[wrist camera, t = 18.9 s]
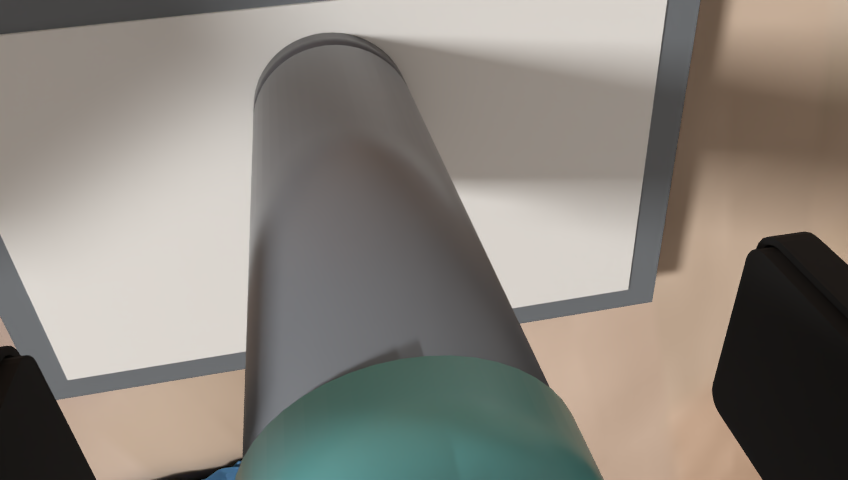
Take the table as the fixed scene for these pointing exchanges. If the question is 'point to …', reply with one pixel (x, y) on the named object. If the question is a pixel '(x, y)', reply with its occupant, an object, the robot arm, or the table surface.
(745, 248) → the table surface
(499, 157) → the drawing board
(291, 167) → the marker
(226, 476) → the decorative plate
